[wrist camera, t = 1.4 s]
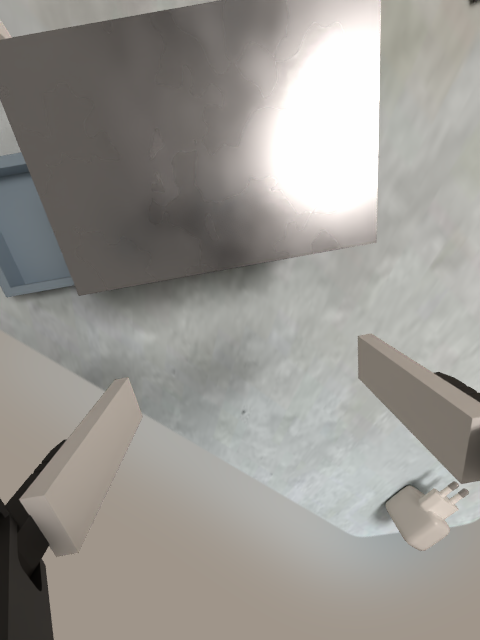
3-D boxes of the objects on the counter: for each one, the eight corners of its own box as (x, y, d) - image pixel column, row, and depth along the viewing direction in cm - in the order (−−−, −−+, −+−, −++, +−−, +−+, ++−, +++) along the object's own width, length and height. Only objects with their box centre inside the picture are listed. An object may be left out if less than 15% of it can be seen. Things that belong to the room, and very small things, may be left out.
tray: (-30, 174, 22) (-60, 166, 20) (90, 152, 22) (74, 142, 20) (25, 292, 25) (6, 297, 23) (128, 273, 25) (119, 277, 23)
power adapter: (432, 458, 37) (469, 497, 31) (451, 471, 38) (489, 511, 32) (378, 501, 39) (404, 545, 34) (397, 513, 41) (425, 556, 35)
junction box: (111, 149, 22) (-30, 38, 10) (296, 115, 22) (386, -37, 10) (147, 270, 25) (76, 299, 13) (306, 241, 25) (380, 245, 13)
